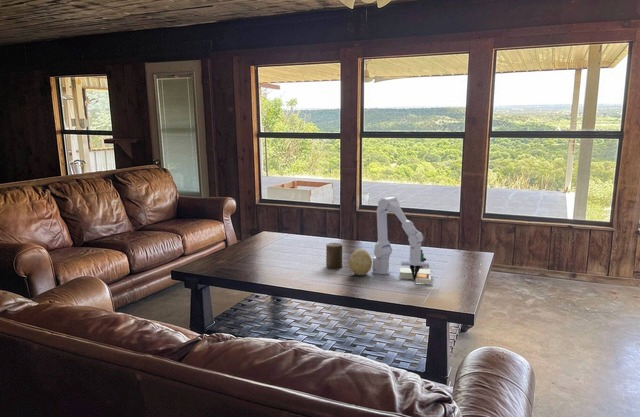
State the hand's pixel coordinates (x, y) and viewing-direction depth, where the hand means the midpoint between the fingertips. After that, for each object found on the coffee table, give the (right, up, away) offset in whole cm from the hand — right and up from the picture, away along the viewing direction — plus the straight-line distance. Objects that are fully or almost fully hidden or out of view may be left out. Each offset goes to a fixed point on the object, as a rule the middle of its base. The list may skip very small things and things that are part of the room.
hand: (414, 278), depth 250 cm
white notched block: (+1, -1, +4) cm, 4 cm away
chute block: (+4, -2, -1) cm, 4 cm away
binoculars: (+8, +4, +28) cm, 30 cm away
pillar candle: (-43, +3, +26) cm, 50 cm away
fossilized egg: (-28, 0, +11) cm, 30 cm away
